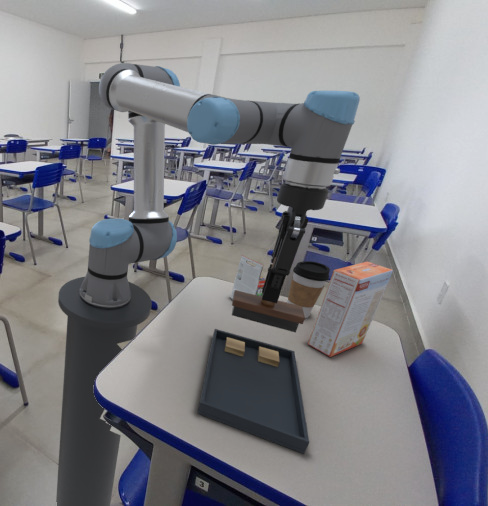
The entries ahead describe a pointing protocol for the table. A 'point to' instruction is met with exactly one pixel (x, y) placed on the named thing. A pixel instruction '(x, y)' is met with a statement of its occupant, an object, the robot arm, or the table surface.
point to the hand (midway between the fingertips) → (269, 297)
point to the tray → (255, 392)
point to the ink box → (249, 278)
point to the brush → (267, 311)
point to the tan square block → (235, 346)
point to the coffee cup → (307, 284)
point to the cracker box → (349, 307)
